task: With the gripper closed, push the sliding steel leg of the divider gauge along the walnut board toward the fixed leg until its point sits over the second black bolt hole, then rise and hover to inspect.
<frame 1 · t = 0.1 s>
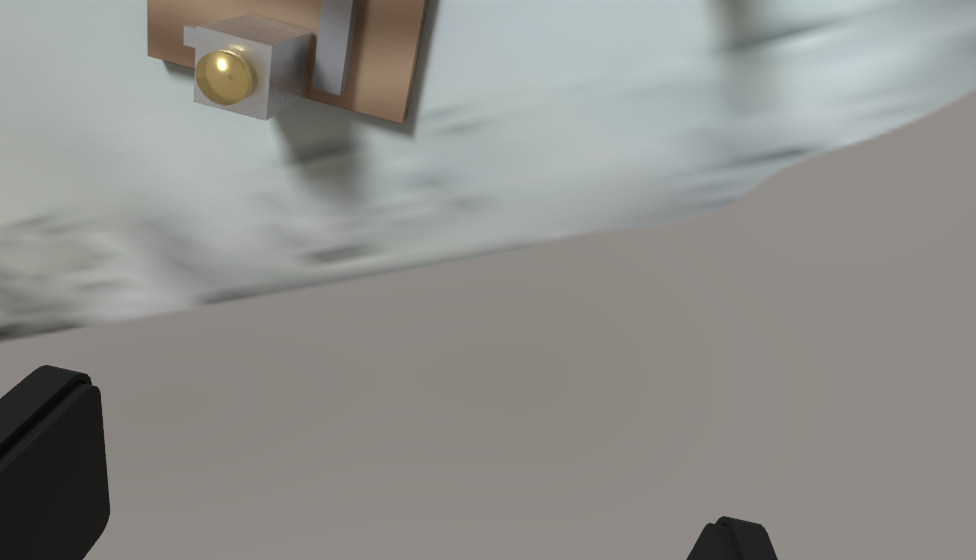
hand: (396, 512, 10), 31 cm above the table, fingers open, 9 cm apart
sliding leg: (223, 58, 33), point 5 cm above the table, slide at 0.0 cm
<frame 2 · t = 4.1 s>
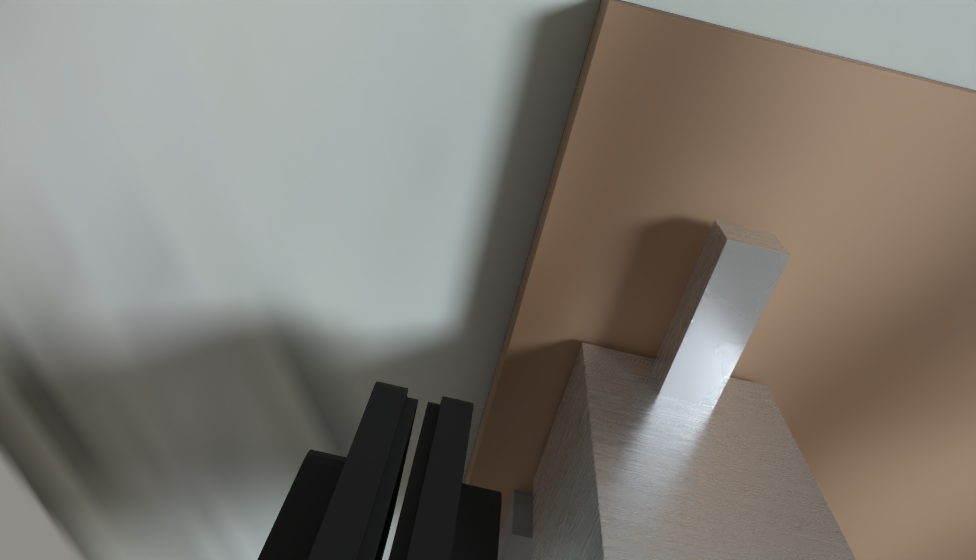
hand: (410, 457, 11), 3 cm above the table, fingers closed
sliding leg: (714, 529, 9), point 5 cm above the table, slide at 1.1 cm, touching gripper
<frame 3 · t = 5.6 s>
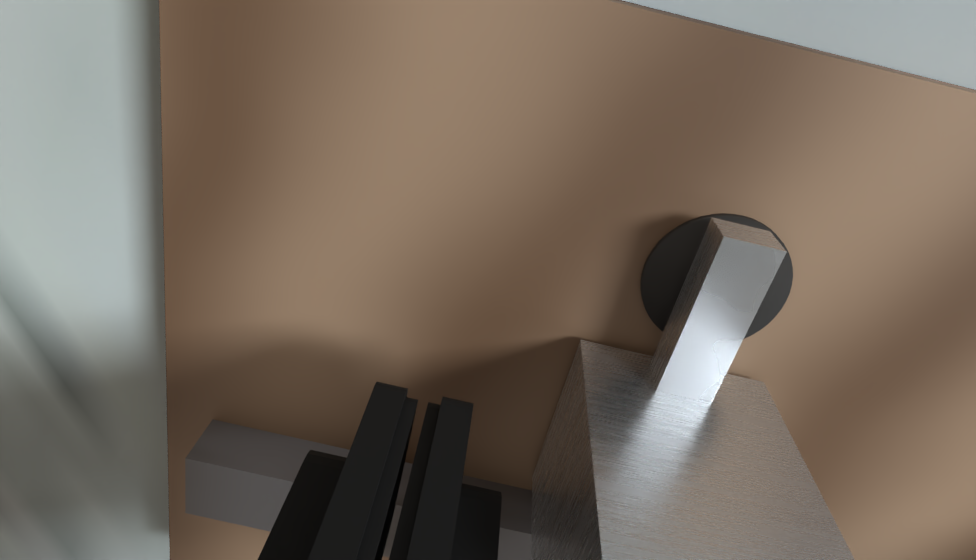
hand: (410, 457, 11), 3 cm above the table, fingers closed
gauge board: (812, 431, 14), on the table
sliding leg: (711, 523, 9), point 5 cm above the table, slide at 7.8 cm, touching gripper
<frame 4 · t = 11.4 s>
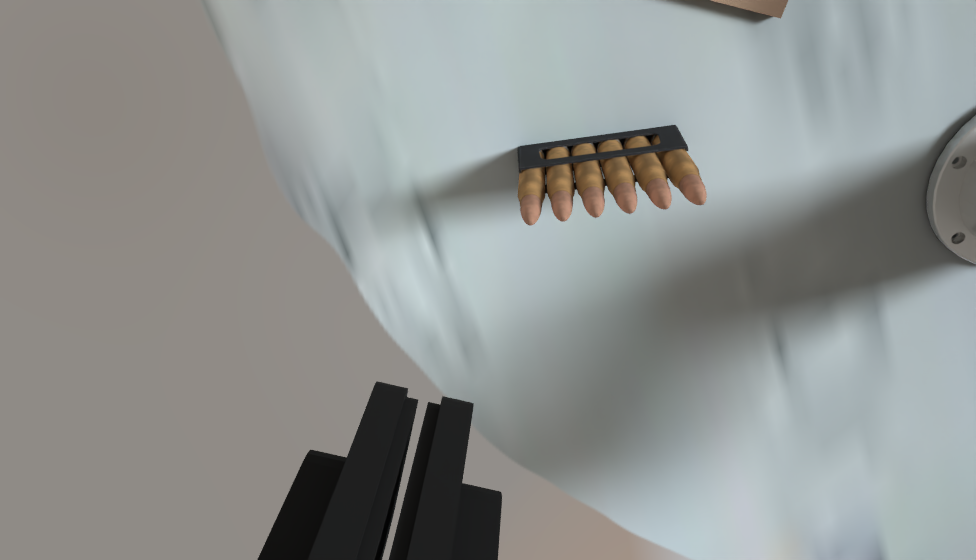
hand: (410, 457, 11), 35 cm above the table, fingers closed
ammunition clip: (596, 148, 44), on the table
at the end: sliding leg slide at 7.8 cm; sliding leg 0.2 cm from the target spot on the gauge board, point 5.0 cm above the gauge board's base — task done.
